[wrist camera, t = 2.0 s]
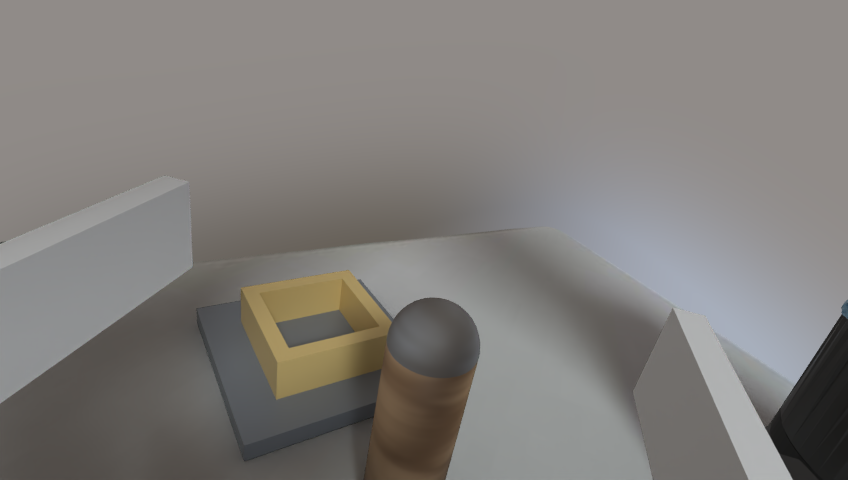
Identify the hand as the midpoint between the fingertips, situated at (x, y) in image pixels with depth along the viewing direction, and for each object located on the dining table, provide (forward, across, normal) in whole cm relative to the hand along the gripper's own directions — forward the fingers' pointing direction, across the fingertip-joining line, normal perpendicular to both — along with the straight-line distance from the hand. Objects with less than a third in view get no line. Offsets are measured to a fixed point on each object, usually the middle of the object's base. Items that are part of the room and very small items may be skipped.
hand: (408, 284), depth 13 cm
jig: (+21, -10, -22) cm, 32 cm away
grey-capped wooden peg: (+10, 0, -22) cm, 25 cm away
